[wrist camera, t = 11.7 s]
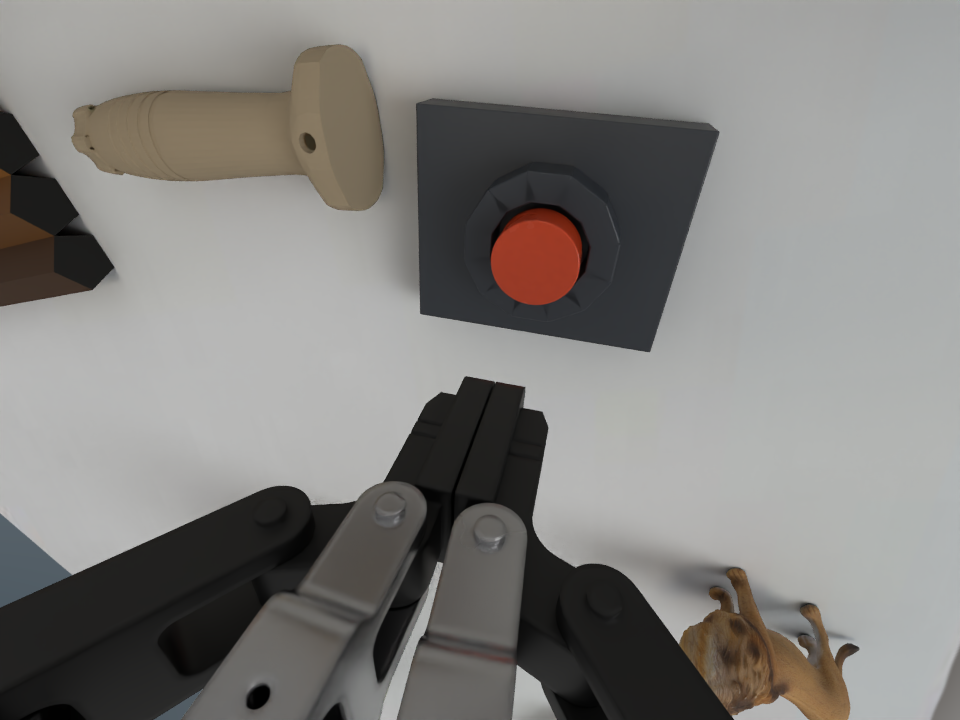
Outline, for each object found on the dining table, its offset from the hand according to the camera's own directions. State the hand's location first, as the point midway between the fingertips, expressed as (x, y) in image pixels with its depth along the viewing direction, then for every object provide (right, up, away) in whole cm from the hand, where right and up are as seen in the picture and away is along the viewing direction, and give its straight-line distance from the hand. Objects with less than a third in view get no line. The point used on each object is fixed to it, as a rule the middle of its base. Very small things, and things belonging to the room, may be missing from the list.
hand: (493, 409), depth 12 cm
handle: (-20, +13, +13) cm, 27 cm away
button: (+2, +6, +8) cm, 11 cm away
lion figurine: (+20, -17, +23) cm, 35 cm away
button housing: (+3, +8, +11) cm, 14 cm away
